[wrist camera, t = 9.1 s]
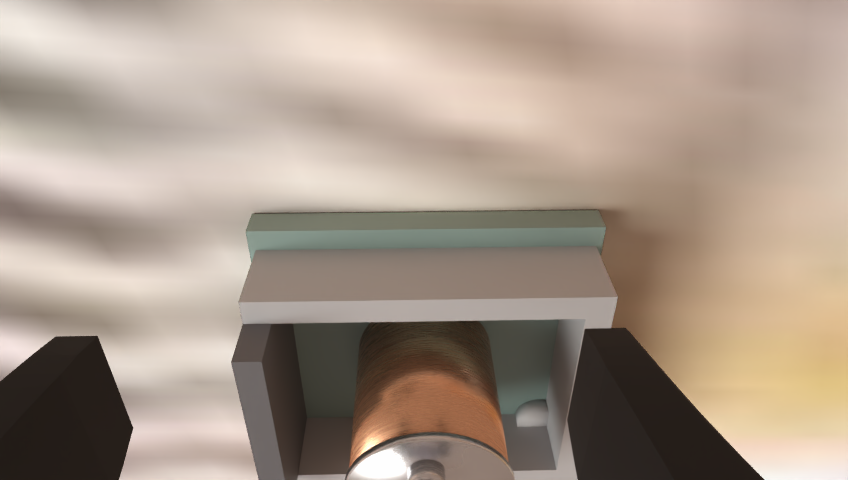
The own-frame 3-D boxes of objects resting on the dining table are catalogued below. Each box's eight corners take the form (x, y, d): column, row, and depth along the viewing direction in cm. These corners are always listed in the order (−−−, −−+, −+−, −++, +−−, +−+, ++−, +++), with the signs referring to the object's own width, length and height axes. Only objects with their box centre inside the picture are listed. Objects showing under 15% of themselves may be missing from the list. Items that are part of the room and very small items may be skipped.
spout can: (495, 392, 24) (521, 562, 19) (366, 403, 24) (355, 574, 19) (491, 292, 21) (519, 457, 16) (345, 305, 21) (326, 473, 16)
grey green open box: (559, 418, 26) (588, 534, 22) (288, 423, 26) (267, 541, 22) (597, 209, 21) (646, 313, 16) (251, 213, 20) (213, 319, 16)
